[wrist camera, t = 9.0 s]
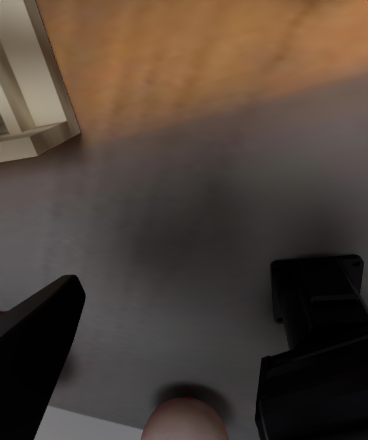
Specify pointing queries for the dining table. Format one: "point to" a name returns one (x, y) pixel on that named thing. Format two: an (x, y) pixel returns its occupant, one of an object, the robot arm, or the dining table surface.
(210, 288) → the dining table surface
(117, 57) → the dining table surface
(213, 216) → the dining table surface
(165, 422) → the decorative fruit
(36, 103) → the roll cradle
